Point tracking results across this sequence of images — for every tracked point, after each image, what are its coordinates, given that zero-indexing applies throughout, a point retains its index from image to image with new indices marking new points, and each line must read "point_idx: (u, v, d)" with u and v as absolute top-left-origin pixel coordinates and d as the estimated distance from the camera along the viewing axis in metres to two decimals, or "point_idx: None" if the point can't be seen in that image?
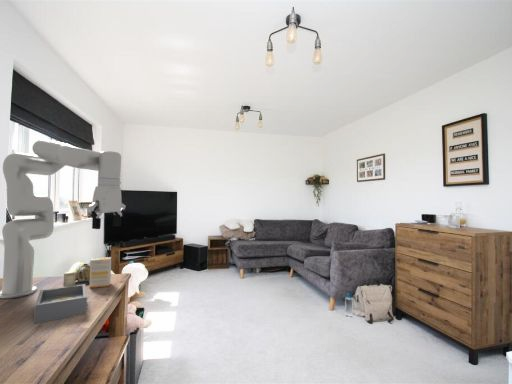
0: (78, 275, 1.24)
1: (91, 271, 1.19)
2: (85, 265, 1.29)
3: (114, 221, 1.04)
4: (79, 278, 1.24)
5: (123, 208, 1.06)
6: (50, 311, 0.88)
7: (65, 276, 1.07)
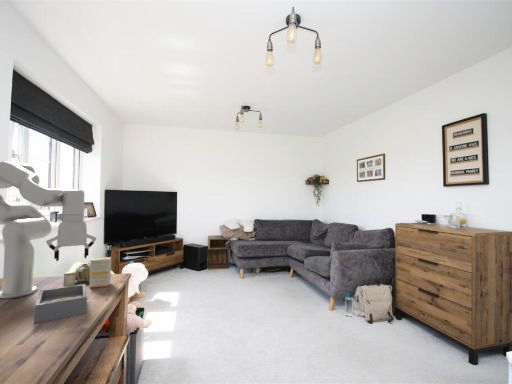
0: (77, 275, 1.24)
1: (91, 271, 1.19)
2: (84, 265, 1.28)
3: (58, 256, 1.05)
4: (78, 278, 1.24)
5: None
6: (50, 311, 0.88)
7: (65, 276, 1.07)
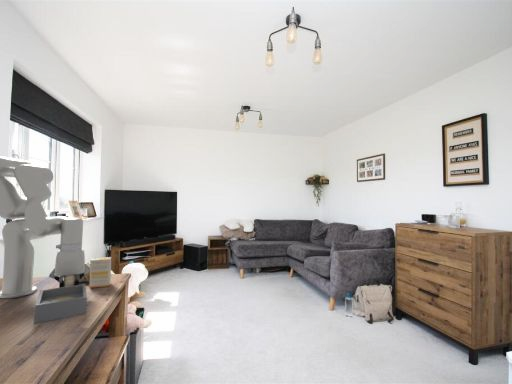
0: None
1: (91, 271, 1.19)
2: None
3: None
4: None
5: None
6: (50, 311, 0.88)
7: (65, 276, 1.07)
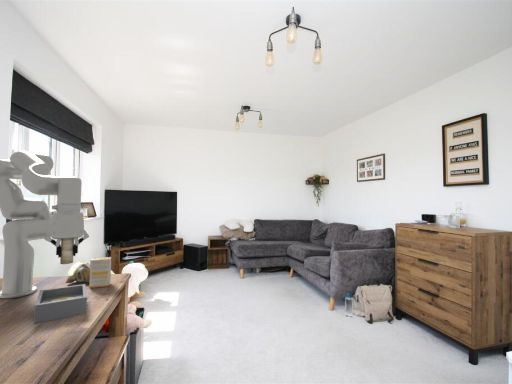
0: (76, 275, 1.23)
1: (91, 271, 1.19)
2: (83, 265, 1.28)
3: (60, 252, 0.97)
4: (78, 279, 1.24)
5: None
6: (50, 311, 0.88)
7: (63, 240, 0.97)
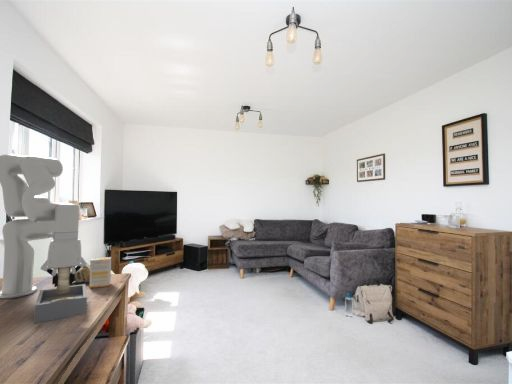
0: (76, 276, 1.23)
1: (91, 271, 1.19)
2: None
3: None
4: (77, 279, 1.23)
5: None
6: (50, 311, 0.88)
7: (59, 269, 0.95)
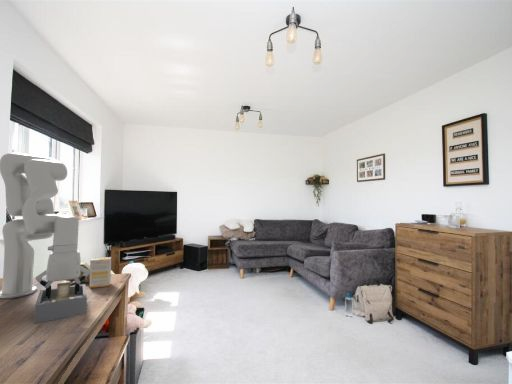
0: None
1: (91, 271, 1.19)
2: (82, 266, 1.27)
3: (50, 293, 0.94)
4: None
5: None
6: (50, 311, 0.88)
7: (59, 287, 0.95)
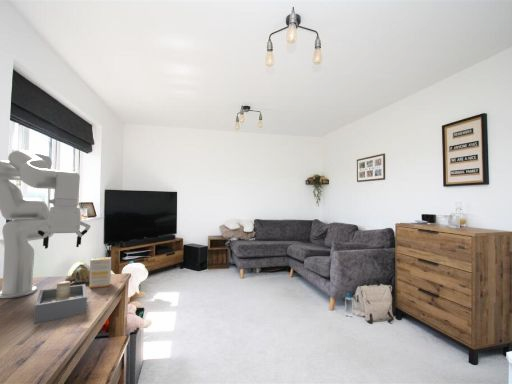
0: (75, 276, 1.23)
1: (91, 271, 1.19)
2: (81, 266, 1.27)
3: (47, 243, 0.96)
4: (76, 279, 1.23)
5: None
6: (50, 311, 0.88)
7: (58, 287, 0.95)
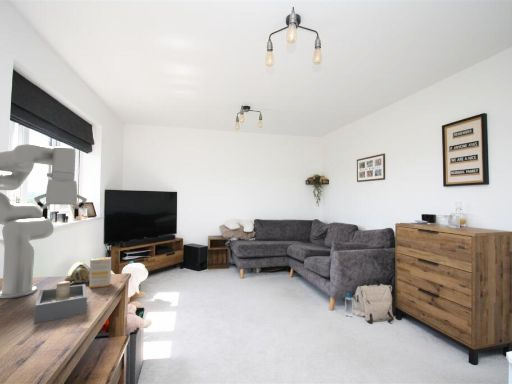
0: (74, 276, 1.22)
1: (91, 271, 1.19)
2: (81, 266, 1.27)
3: (47, 214, 1.02)
4: (75, 279, 1.23)
5: None
6: (50, 311, 0.88)
7: (58, 287, 0.95)
